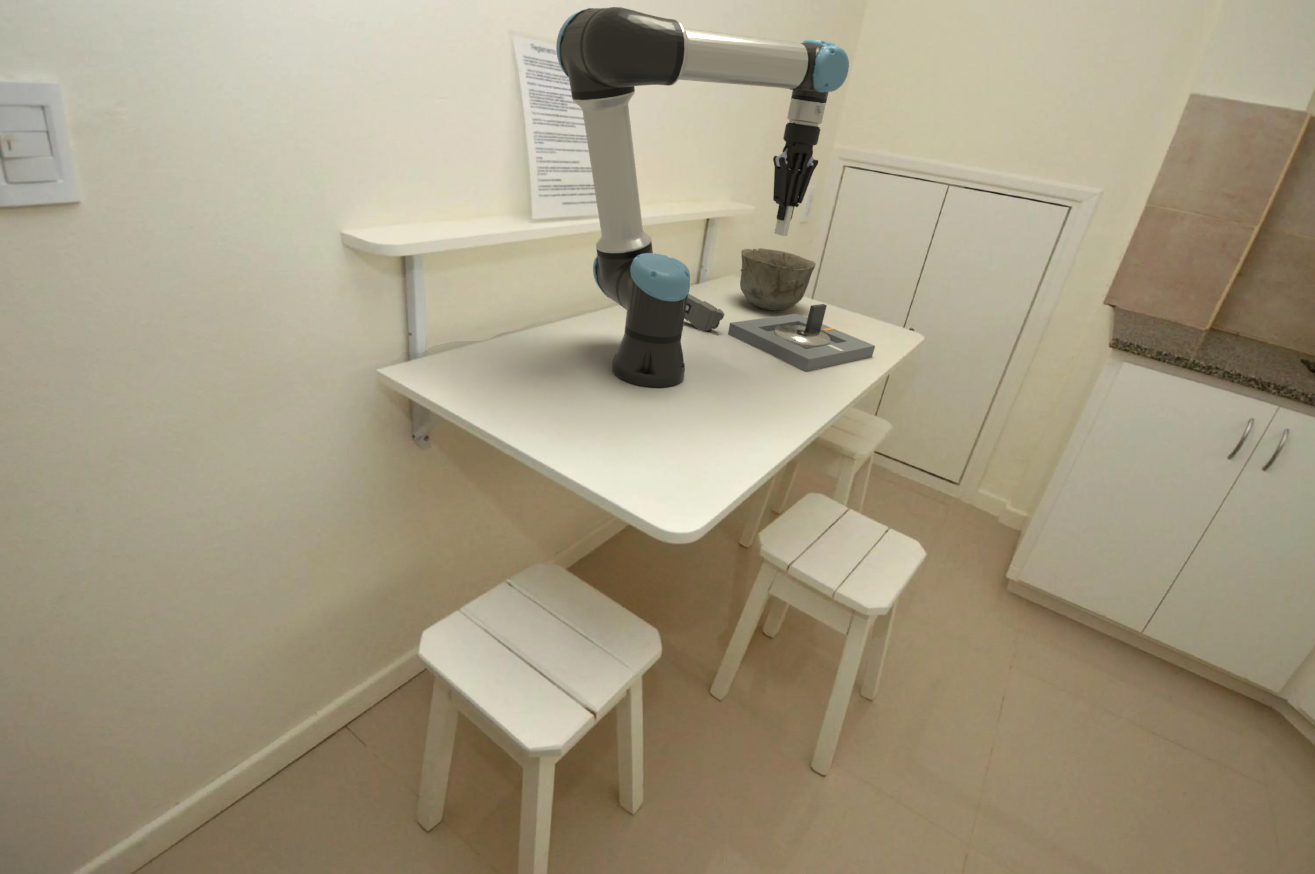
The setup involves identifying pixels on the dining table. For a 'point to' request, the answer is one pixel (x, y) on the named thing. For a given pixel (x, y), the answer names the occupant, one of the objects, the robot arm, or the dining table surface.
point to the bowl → (774, 278)
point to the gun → (702, 314)
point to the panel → (806, 359)
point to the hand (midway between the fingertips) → (780, 234)
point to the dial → (806, 330)
